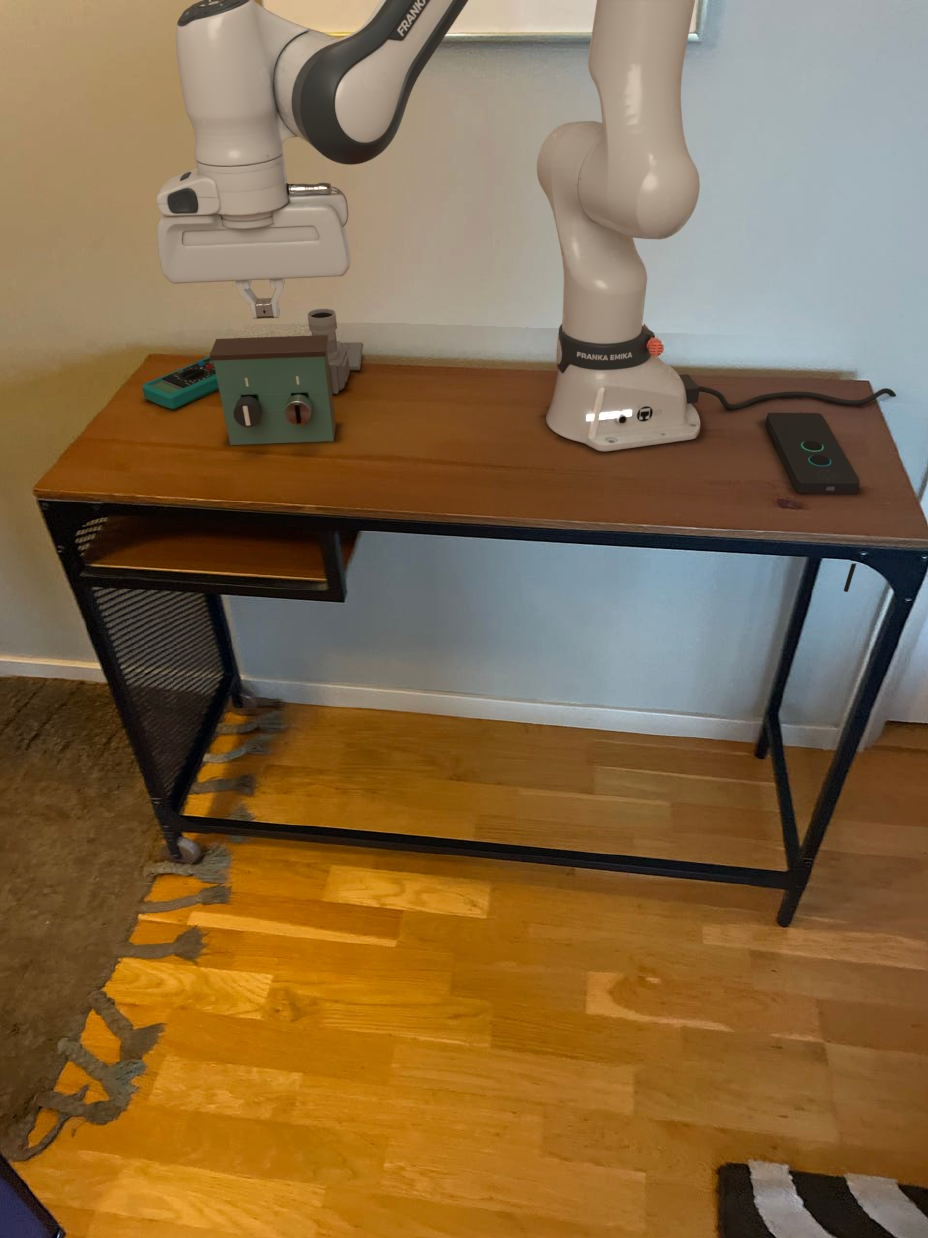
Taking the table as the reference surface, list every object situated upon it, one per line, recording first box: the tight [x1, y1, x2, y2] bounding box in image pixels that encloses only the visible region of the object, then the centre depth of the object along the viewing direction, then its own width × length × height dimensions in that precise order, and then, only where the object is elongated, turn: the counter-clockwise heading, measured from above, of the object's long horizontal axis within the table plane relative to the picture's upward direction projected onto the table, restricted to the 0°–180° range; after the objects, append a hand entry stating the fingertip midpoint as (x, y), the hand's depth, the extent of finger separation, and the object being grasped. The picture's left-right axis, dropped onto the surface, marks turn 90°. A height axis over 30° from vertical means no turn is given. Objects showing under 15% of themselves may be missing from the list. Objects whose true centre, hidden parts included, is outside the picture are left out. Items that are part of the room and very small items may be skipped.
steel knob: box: [285, 393, 312, 425], centre depth 127 cm, size 6×4×4 cm, turn 3°
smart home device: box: [764, 412, 861, 495], centre depth 126 cm, size 8×2×20 cm
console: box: [209, 335, 337, 446], centre depth 130 cm, size 6×16×14 cm, turn 93°
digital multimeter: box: [141, 355, 219, 411], centre depth 145 cm, size 7×15×3 cm, turn 142°
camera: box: [307, 308, 364, 395], centre depth 146 cm, size 9×12×15 cm
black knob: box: [233, 395, 262, 427], centre depth 127 cm, size 6×4×4 cm, turn 3°
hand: (266, 316), depth 103 cm, fingers closed
